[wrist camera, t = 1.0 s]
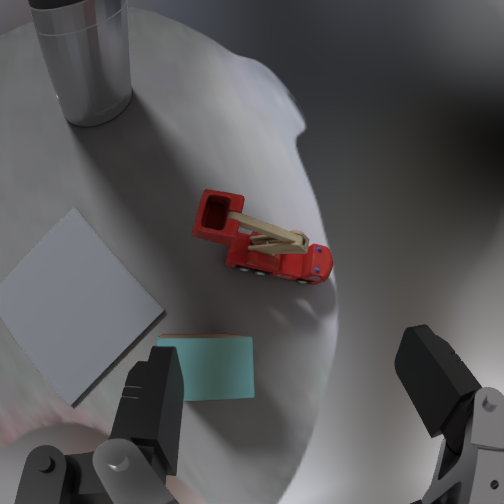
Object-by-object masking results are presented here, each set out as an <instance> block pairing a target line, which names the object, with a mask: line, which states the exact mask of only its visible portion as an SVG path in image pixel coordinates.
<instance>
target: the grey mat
mask: <svg viewBox="0 0 504 504" xmlns="http://www.w3.org/2000/svg"><path fill="white" fill-rule="evenodd" d="M163 311H164V309H163V308H162V307H161V306H160V305H159V304H158V303H157V302H156V301H155V300H154V299H153V298H152V296H151V295H150V294H149V293H148V292H147V291H146V290H145V289H144V288H143V287H142V286H141V285H140V284H139V283H138V281H137V280H136V279H135V278H134V277H133V276H132V275H131V274H130V273H129V272H128V270H127V269H126V268H125V267H124V266H123V265H122V264H121V262H120V261H119V260H118V259H117V258H116V257H115V256H114V254H113V253H112V252H111V251H110V250H109V249H108V247H107V246H106V245H105V244H104V243H103V241H102V240H101V239H100V238H99V237H98V235H97V234H96V233H95V232H94V231H93V229H92V228H91V227H90V226H89V224H88V223H87V222H86V221H85V219H84V218H83V217H82V216H81V214H80V213H79V212H78V210H77V209H76V208H75V207H74V208H73V209H72V210H71V211H70V212H68V213H67V214H66V215H65V216H64V217H63V218H62V219H61V220H60V221H59V222H58V223H57V224H56V225H55V226H54V227H53V228H52V229H51V230H50V231H49V232H48V233H47V234H46V235H45V236H44V237H43V238H42V239H41V240H40V241H39V242H38V243H37V244H36V245H35V246H34V247H33V248H32V249H31V250H30V251H29V252H28V253H27V255H26V256H25V257H24V258H23V259H22V260H21V261H20V262H19V263H18V264H17V266H16V267H15V268H14V269H13V270H12V271H11V272H10V274H9V275H8V276H7V277H6V278H5V279H4V281H3V282H2V283H1V284H0V317H1V318H2V320H3V321H4V323H5V324H6V326H7V328H8V329H9V331H10V332H11V334H12V335H13V336H14V338H15V339H16V341H17V342H18V344H19V345H20V346H21V348H22V349H23V350H24V352H25V353H26V355H27V356H28V357H29V359H30V360H31V361H32V362H33V364H34V365H35V366H36V368H37V369H38V370H39V371H40V372H41V374H42V375H43V376H44V377H45V379H46V380H47V381H48V382H49V383H50V384H51V386H52V387H53V388H54V389H55V390H56V391H57V393H58V394H59V395H60V396H61V397H62V398H63V399H64V400H65V401H66V402H67V403H68V405H69V406H71V405H72V404H73V403H74V402H75V401H76V400H77V399H78V398H79V397H80V396H81V395H82V393H83V392H84V391H85V390H86V389H87V388H88V387H89V386H90V385H91V384H92V383H93V382H94V381H95V380H96V379H97V378H98V377H99V376H100V375H101V374H102V373H103V372H104V371H105V370H106V369H107V368H108V367H109V366H110V365H111V364H112V363H113V362H114V361H115V359H116V358H117V357H118V356H119V355H120V354H121V353H122V352H123V351H124V350H125V349H126V348H127V347H128V346H129V345H130V344H131V343H132V342H133V341H134V340H135V339H136V338H137V337H138V336H139V335H140V334H141V333H142V332H143V331H144V330H145V329H146V328H147V327H148V326H149V325H150V324H151V323H152V322H153V321H154V320H155V319H156V318H157V317H158V316H159V315H160V314H161V313H162V312H163Z"/></svg>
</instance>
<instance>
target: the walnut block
mask: <svg viewBox="0 0 504 504" xmlns="http://www.w3.org/2000/svg"><path fill="white" fill-rule="evenodd" d="M157 346H175V347H176V349H177V353H178V358H179V362H180V366H181V371H182V375H183V380H184V399H183V401H202V400H225V399H240V398H253V397H255V396H254V368H253V338H252V337H247V336H239V335H232V334H162V335H161V336H159V337H158V338H157Z"/></svg>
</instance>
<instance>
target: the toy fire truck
mask: <svg viewBox="0 0 504 504" xmlns="http://www.w3.org/2000/svg"><path fill="white" fill-rule="evenodd" d="M244 200H245V198H244V196H242V195H237V194H232V193H227V192H220V191H214V190H207V189H205V190H204V192H203V195H202V197H201V200H200V204H199V207H198V212H197V215H196V219H195V223H194V227H193V231H192V236H193V237H198V238H202V239H205V240H209V241H212V242H215V243H220V244H224V245H227V244H229V247H228V252H227V256H226V262H225V265H226V266H228V267H235V266H236V265H237V268H238V270H240V271H245V272H250V271H251V270H252V268H254V273H255V274H258V275H268V274H269V276H273V277H277V278H283V279H287V280H292V281H293V280H296V282H297V283H301V284H308V283H309V284H311V285H315V284H318V283H321V282H324V281H325V280H326V279H327V278H328V277H329V275H330V273H331V270H332V267H333V258H332V255H331V252H330V250H329V249H328V248H327V247H326V246H322V245H318V244H312V245H311V246H309V247H308V244H309V239H308V238H307V236H306V235H305V234H304V233H303V232H301V231H297V230H296V231H286V230H284V229H282V228H279V227H276V226H274V225H271V224H268V223H265V222H263V221H260V220H257V219H255V218H252V217H249V216H246V215H243V214H242V209H243V205H244ZM239 226H240V227H243V228H246V229H249V230H251V231H253V232H252V234H251V235H248V234H243V233H239V232H238V229H239Z"/></svg>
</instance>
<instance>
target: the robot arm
mask: <svg viewBox="0 0 504 504" xmlns="http://www.w3.org/2000/svg"><path fill="white" fill-rule="evenodd" d="M28 1H29V5H30V10H31V14H32V18H33V22H34V26H35V29H36V33H37V36H38V40H39V43H40V47H41V50H42V53H43V57H44V60H45V63H46V66H47V69H48V72H49V75H50V78H51V81H52V84H53V87H54V89H55V92H56V95H57V98H58V101H59V103H60V106H61V108H62V111H63V113H64V116H65V118H66V119H67V120H68V121H69V122H70V123H72V124H74V125H77V126H83V127H88V126H95V125H100V124H103V123H105V122H107V121H109V120H111V119H113V118H115V117H116V116H117V115H119V114H120V113H121V112H122V111H123V110H124V109H125V108H126V106H127V105H128V103H129V102H130V99H131V95H132V88H131V76H130V59H129V41H128V3H127V2H128V0H28ZM395 370H396V373H397V375H398V377H399V379H400V380H401V382H402V384H403V386H404V387H405V390H406V391H407V393H408V395H409V397H410V399H411V400H412V402H413V404H414V406H415V408H416V410H417V412H418V413H419V415H420V417H421V419H422V421H423V423H424V425H425V427H426V429H427V431H428V433H429V434H430V436H431V438H433V437H436V436H438V435H441V434H443V435H444V437H445V438H444V439H443V441H442V443H441V447H440V451H439V456H438V460H437V464H436V468H435V472H434V475H433V479H432V482H431V485H430V487H429V489H428V490H427V492H426V493H425V495H424V496H423V498H422V500H418V501H416V502H413V503H411V504H504V396H503V395H502V393H501V392H499V391H498V390H496V389H494V388H491V387H484V388H482V386H481V385H480V384H479V382H478V381H477V380H476V378H475V377H474V376H473V374H472V373H471V372H470V370H469V369H468V368H467V366H466V365H465V364H464V362H463V361H461V359H460V357H459V356H458V355H457V354H455V351H454V350H453V349H452V347H451V346H450V345H449V343H448V342H446V341H445V340H443V339H442V338H441V337H439V336H437V335H435V334H434V333H433V331H432V330H431V329H430V328H429V327H428V326H427V325H418V326H413V327H408V328H406V330H405V331H404V334H403V337H402V340H401V343H400V346H399V349H398V352H397V355H396V358H395ZM183 399H184V380H183V375H182V371H181V366H180V362H179V358H178V353H177V349H176V347H175V346H153V347H152V349H151V352H150V356H149V359H148V362H147V361H138V362H137V363H136V364H135V365H134V367H133V368H132V369H131V370H130V371H129V373H128V376H127V379H126V382H125V387H124V389H123V392H122V397H121V399H120V403H119V406H118V410H117V413H116V417H115V420H114V424H113V428H112V431H111V435H110V437H109V439H108V440H107V441H105V442H104V443H102V444H100V445H99V446H98V448H97V449H96V450H95V451H93V452H90V453H82V454H72V455H63V454H62V452H61V451H60V450H59V449H57V448H55V447H53V446H49V445H43V446H39V447H37V448H35V449H33V451H31V452H30V454H29V455H28V457H27V459H26V463H25V466H24V469H23V473H22V476H21V480H20V484H19V487H18V491H17V496H16V500H15V504H179V502H178V501H177V500H176V499H175V498H174V497H173V495H172V494H171V493H170V491H169V490H168V489H167V488H166V486H165V484H166V475H172V476H176V473H177V460H178V449H179V438H180V428H181V418H182V408H183Z"/></svg>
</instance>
